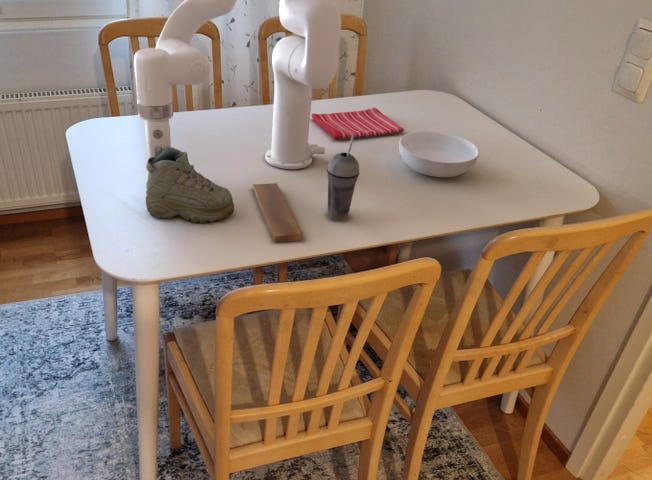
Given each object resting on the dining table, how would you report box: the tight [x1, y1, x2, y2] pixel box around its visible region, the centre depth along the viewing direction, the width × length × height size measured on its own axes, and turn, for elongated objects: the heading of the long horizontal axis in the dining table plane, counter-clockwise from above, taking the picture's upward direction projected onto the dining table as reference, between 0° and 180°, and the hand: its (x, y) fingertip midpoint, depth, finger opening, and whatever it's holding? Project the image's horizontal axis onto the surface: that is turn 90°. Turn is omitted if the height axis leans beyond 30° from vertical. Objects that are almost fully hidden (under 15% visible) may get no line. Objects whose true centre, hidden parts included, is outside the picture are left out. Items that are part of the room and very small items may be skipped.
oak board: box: [252, 182, 303, 244], centre depth 145 cm, size 6×24×2 cm, turn 14°
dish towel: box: [311, 107, 405, 141], centre depth 191 cm, size 17×24×3 cm
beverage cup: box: [326, 135, 360, 222], centre depth 141 cm, size 7×7×20 cm
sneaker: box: [145, 146, 235, 224], centre depth 139 cm, size 11×19×15 cm, turn 78°
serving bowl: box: [398, 130, 480, 178], centre depth 169 cm, size 21×21×7 cm
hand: (159, 184), depth 148 cm, fingers closed
